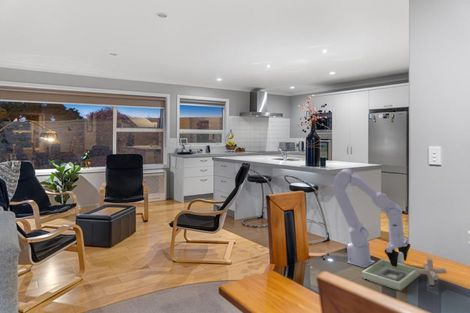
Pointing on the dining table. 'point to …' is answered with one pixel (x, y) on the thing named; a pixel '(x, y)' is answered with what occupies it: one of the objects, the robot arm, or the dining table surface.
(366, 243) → the robot arm
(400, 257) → the pvc coupling
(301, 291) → the dining table surface
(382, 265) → the walled box
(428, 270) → the grey toy jack
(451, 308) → the dining table surface
